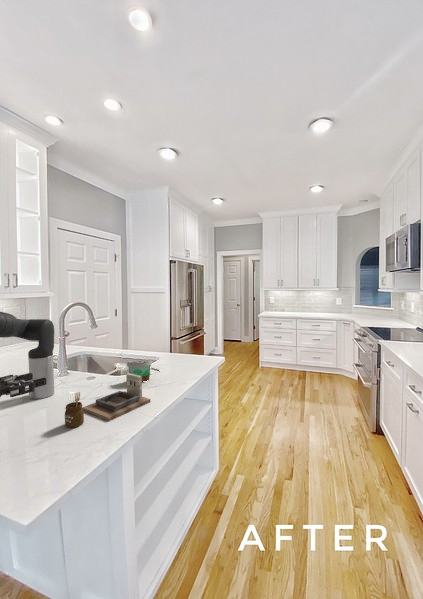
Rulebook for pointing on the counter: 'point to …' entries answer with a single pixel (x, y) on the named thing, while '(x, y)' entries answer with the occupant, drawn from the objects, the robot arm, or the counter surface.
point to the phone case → (156, 371)
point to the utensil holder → (74, 413)
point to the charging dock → (119, 400)
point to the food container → (140, 369)
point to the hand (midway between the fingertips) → (38, 378)
